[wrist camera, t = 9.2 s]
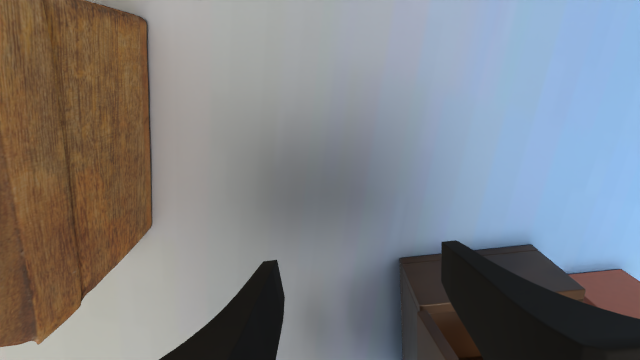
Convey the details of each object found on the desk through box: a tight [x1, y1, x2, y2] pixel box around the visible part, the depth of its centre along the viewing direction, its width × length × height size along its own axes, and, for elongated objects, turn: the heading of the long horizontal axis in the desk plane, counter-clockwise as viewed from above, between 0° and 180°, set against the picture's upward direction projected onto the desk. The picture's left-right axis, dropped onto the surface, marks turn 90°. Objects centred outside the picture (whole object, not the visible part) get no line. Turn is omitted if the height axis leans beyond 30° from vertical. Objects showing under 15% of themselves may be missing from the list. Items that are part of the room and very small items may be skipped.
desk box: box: [399, 245, 586, 360], centre depth 24 cm, size 11×12×5 cm
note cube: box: [568, 269, 640, 319], centre depth 24 cm, size 5×5×5 cm
